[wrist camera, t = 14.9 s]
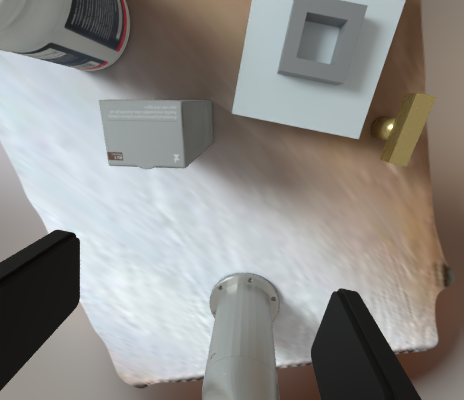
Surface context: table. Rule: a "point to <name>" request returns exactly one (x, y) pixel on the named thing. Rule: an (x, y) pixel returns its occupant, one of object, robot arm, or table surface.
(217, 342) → the robot arm
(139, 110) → the skincare box
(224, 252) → the table surface
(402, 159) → the t key
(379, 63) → the box
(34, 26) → the supplement tub
